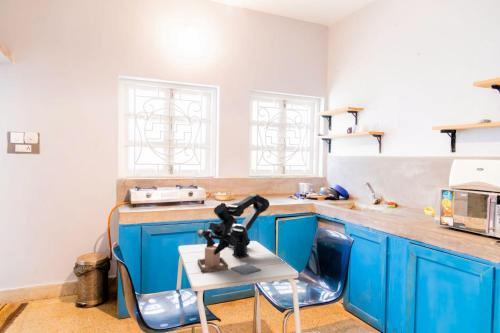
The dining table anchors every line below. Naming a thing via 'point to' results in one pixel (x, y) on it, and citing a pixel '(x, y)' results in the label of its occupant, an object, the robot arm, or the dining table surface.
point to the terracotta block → (211, 257)
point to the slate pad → (245, 269)
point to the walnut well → (212, 268)
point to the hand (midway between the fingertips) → (210, 253)
